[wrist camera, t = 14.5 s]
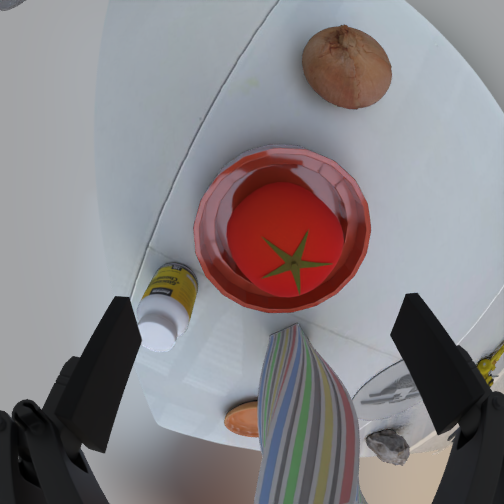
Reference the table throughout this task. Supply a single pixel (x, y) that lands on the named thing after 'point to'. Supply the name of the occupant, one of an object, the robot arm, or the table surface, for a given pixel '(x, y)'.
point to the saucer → (243, 419)
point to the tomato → (284, 239)
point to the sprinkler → (489, 366)
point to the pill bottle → (166, 307)
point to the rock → (389, 447)
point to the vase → (305, 428)
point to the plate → (387, 394)
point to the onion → (346, 67)
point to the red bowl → (256, 176)
